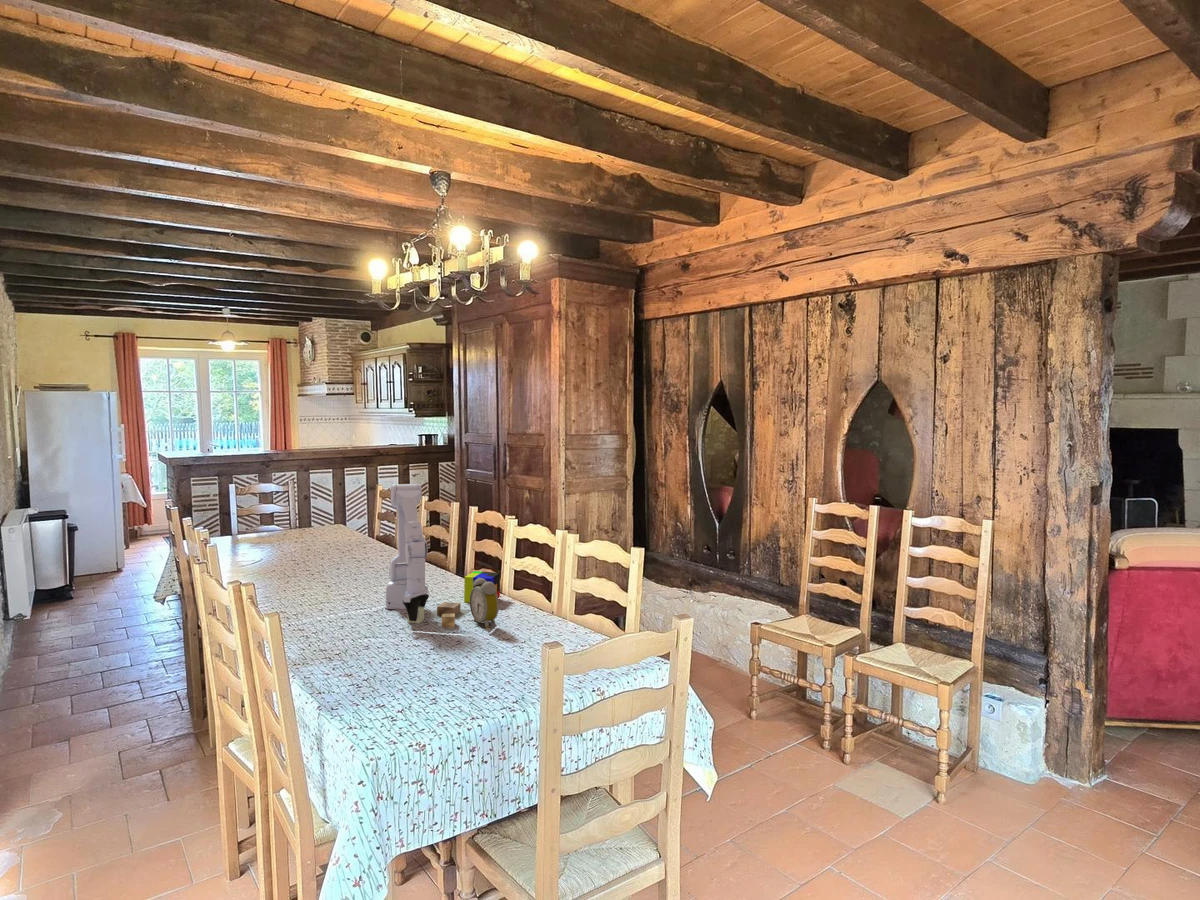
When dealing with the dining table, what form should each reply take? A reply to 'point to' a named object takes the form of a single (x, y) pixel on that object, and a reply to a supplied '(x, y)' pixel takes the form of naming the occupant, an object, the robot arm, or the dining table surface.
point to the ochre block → (448, 620)
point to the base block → (448, 608)
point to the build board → (457, 617)
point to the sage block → (419, 616)
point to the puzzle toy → (487, 576)
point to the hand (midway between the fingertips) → (415, 618)
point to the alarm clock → (484, 601)
